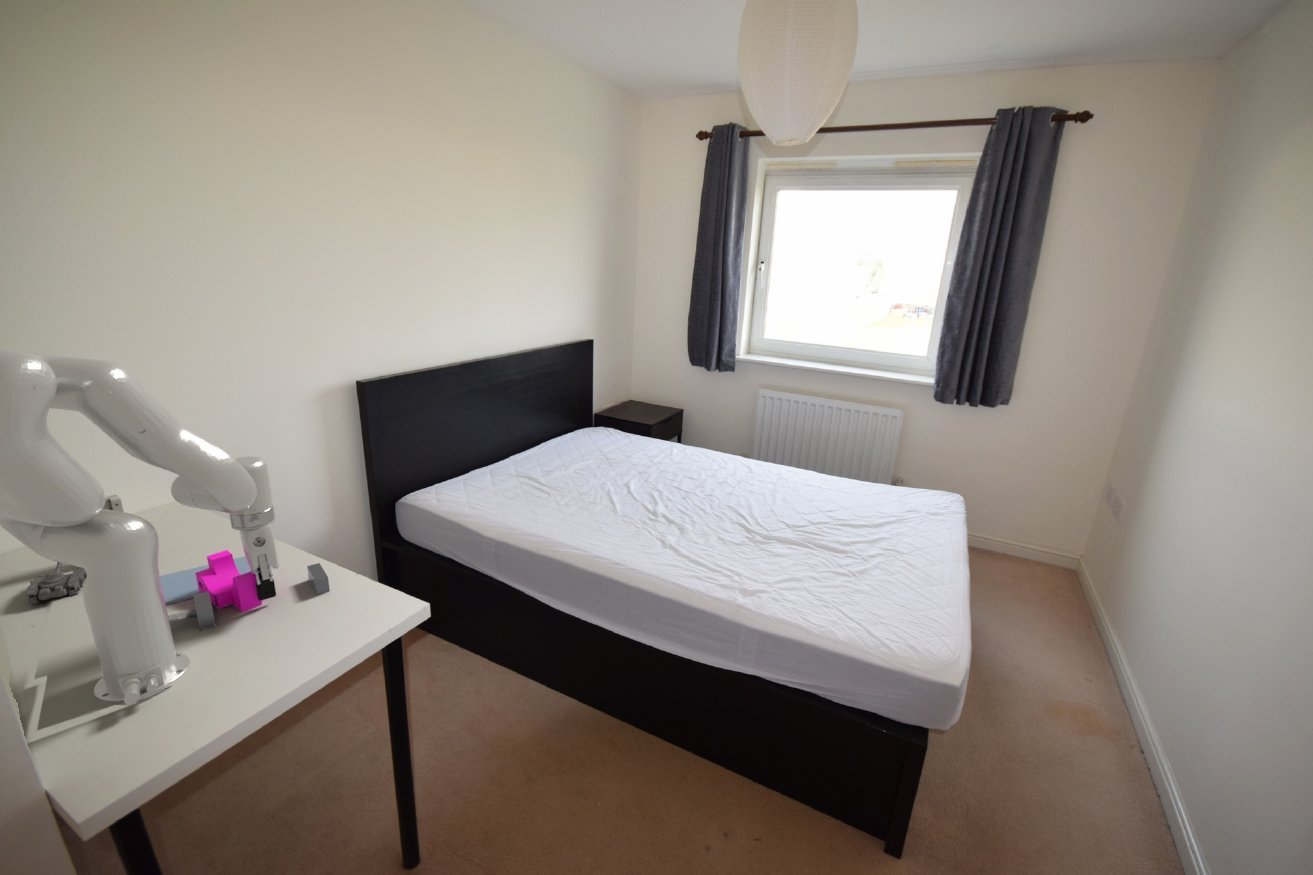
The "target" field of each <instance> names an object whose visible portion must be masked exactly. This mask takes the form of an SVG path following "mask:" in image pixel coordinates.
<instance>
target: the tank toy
mask: <svg viewBox="0 0 1313 875" xmlns="http://www.w3.org/2000/svg"><path fill="white" fill-rule="evenodd" d="M63 565H64V563H59V562H56V567H55V570H54V573H52V574H49V573H48V574H40V575H37V577H36V576H35V577H34V579H33V580H30V581H29V583H30V584H29V585H28V587H27V589H26V592H27V594H26V596H27V601H28V604H29V605H34V604H39V603H40V602H41V601H46V600H49V599H55V598H61V597H62V598H63V596H67V595H69V596H70V597H71V596H76V595H79V591H80V590H81V588H83V587H84V586H83V585H84V584H85V582H86V578H87V573H86V571H85V569H84V568H81V567H79V568H75V569H74V570H73V571H72V573H67V574H64V573H61V570H62V569H63Z"/></svg>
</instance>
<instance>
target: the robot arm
mask: <svg viewBox="0 0 1313 875" xmlns="http://www.w3.org/2000/svg"><path fill="white" fill-rule="evenodd" d="M50 409H55V410H57V409H58V410H65V411H73V412H78V413H80V414H82V415H83V416H85V417H86V418H87V419H88V420H89V421H90V422H91V423H93V424H94V425H95V426H96V427H97V428H99V429H100V430H101V431H102V432H103V433H104V434H106V435H107V436H108V437H109V438H110V439H111V440H112V441H114V443H116V445H118V446H119V447H120V448H122V450H123V451H125V453H127V454H128V455H130V456H132V458H135V459H137V460H140V461H142V462H144V463H147V464H148V465H150V466H153V467H156V468H159V469H162V470H165V471H169V472H170V473H174V474H176V475H177V477H175V478H174V480H173V482H172V484H171V486H170V492H171V496H172V497H173V500H175V501H176V502H177V503H179V504H181V505H183V506H186V507H189V508H193V509H194V508H195V509H201V510H207V511H213V512H219V513H227V514H228V515H229V520H230V526H231V528H232V530H236V531H239V535H240V540H241V545H242V548H243V553H244V556H245V557H246V560H247V562H248V565H249V567H250V569H251V572H252V573H253V574H255V575H256V581H257V583H256V590H257V596H258V600H259V601H261V600H262V601H264V600H268V599H272V598H275V597H276V596H277V592H276V586H275V585H276V584H275V579H274V578H273V576H272V574H273V572H272V569H274V570H277V569H279V567H280V564H279V563H280V561H279V558H278V552H277V547H276V543H275V542H276V541H275V537H274V532H273V528H272V527H273V526H272V524H273V523H275V521H276V515H275V514H276V512H275V507H274V502H273V495H272V489H271V482H270V477H269V476H270V475H269V470H268V464H267V462H266V461H265V460H264V459H263V458H262V457H259V456H242V457H241V456H240V457H236V458H234V457H233V456H232V455H231V454H230V453H228V452H227V451H225V450H224V449H222V447H219V446H218V445H216V444H215V443H213V442H211V441H209V440H208V439H206V438H205V437H203V436H201V434H199V433H197V432H196V431H194V430H192V429H191V428H188V427H187V426H185V425H184V424H182V423H181V422H180V421H179V420H178V419H176V418H175V416H174V415H173V414H172V413H171V412H170V411H169V410H168V409H166V407H165V406H163V405H162V403H161V402H160V401H159V400H158V399H157V398H156V397H155V396H154V395H153V393H151V391H149V390H148V389H147V388H146V387H145V386H144V385H143V384H142V382H140V381H139V380H138V378H136V377H135V376H134V375H133V374H132V373H131V371H128V370H127V369H126V368H125V367H123V366H121V365H119V364H117V363H114V362H111V361H107V360H101V359H100V360H99V359H92V358H91V359H90V358H82V357H71V356H60V355H59V356H58V355H47V354H37V353H28V352H25V351H20V350H15V349H14V350H13V349H8V348H7V349H6V348H0V527H1V528H2V529H4V530H5V532H7V533H8V534H10V535H12V536H13V537H14V538H15V539H16V540H18V541H19V542H20V543H22V544H23V545H24V546H25V547H27V548H28V549H29V550H31V551H32V552H34V553H35V554H37V555H39V556H40V557H42V558H44V559H46V560H48V561H49V560H50V561H53V562H55V563H57V562H59V563H63V565H64V564H66V565H69V566H74V567H77V568H84V569H85V571H86V573H87V578H85V582H84V586H83V587H84V588H83V592H82V593H83V594H82V596H83V603H84V608H85V612H86V614H87V618H88V622H89V625H90V628H91V633H92V638H93V640H94V644H95V649H96V652H97V655H98V659H99V664H100V668H101V671H102V674H103V676H102V677H100V679H99V680H98V681H97V682H96V684H95V685H94V688H93V694H94V696H95V698H97V699H98V700H100V701H104V702H110V703H112V702H113V703H114V702H115V703H116V702H119V703H117V705H124V704H126V705H132V704H135V703H137V702H139V701H143V700H145V699H148V698H151V697H153V696H156V695H158V694H160V693H162V692H165V691H166V690H168V689H170V688H172V687H173V685H171V684H173V683H174V682H175V681H177V680H178V679H179V678H181V677H182V676H183V675H184V674H185V672H186V671H187V670H188V668H189V667H190V659H189V657H188V656H187V655H186V654H184V653H182V652H178V651H176V646H175V642H174V637H173V632H172V628H171V624H170V623H169V618H168V616H169V615H168V609H167V605H166V604H165V599H164V595H163V591H162V586H161V581H160V576H161V575H160V570H159V550H160V538H159V534H158V532H157V529H156V528H155V527H154V525H153V524H152V523H151V522H150V521H148V520H147V519H145V518H143V517H141V516H139V515H136V514H132V513H129V512H125V511H124V512H119V511H114V510H108V509H103V507H104V504H105V497H106V494H105V490H104V489H103V487H102V485H101V484H100V483H99V481H98V480H97V479H96V477H94V476H93V475H92V474H91V473H90V472H89V471H88V470H87V469H86V468H85V467H84V466H83V465H82V464H80V462H78V460H76V458H74V456H72V455H71V454H70V453H69V452H68V450H66V449H65V448H64V447H63V446H62V445H61V444H60V443H59V442H58V440H57V439H56V438H55V437H54V436H53V435H52V433H51V431H50V429H49V427H48V416H49V415H48V414H49V411H50ZM169 685H170V686H169Z"/></svg>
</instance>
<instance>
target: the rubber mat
mask: <svg viewBox="0 0 1313 875" xmlns="http://www.w3.org/2000/svg"><path fill="white" fill-rule="evenodd" d="M233 560H234V562H235V565H236V567H237V570H238V571H239V573H240V575H242V574H245V573H247V572H250V571H251V569H250V567H249V565H248V562H247V560H246V557H245V555H244V556H239V557H235V558H233ZM208 568H209V565H208V564H207V565H201V566H198V567H193V568H189V569H183V570H181V571H176V572H172V573H168V574H162V575H159V576H160V581H161V586H162V591H163V595H164V599H165V604H166V606H167V605H171V604H174V603H178V602H183V601H187V600H190V599H194V596H193V595H197V594H201V592H200V591H199V589H198V584H197V579H196V574H195V573H196V572H199V571H202V570H205V569H208ZM273 576H274V574H273V573H272V577H273Z"/></svg>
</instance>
